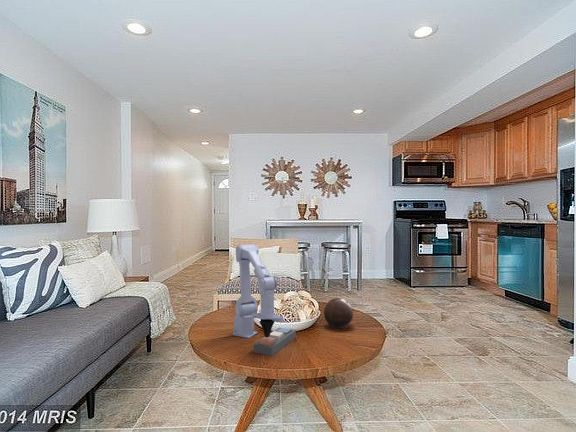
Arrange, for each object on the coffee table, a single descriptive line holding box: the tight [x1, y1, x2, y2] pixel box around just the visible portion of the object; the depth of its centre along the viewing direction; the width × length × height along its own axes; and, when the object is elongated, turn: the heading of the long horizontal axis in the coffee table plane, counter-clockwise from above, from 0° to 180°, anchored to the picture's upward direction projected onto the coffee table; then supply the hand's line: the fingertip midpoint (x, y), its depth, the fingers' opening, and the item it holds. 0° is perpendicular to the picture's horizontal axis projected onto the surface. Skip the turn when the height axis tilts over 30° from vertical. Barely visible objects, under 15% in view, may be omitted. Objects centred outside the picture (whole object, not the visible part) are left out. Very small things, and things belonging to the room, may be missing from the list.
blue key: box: [277, 327, 292, 334], centre depth 164 cm, size 5×5×2 cm
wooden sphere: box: [323, 297, 354, 329], centre depth 180 cm, size 15×15×15 cm
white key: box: [269, 330, 283, 340], centre depth 156 cm, size 5×5×2 cm
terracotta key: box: [258, 336, 275, 346], centre depth 149 cm, size 5×5×2 cm
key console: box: [253, 327, 297, 357], centre depth 156 cm, size 9×24×4 cm, turn 154°
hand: (267, 336), depth 149 cm, fingers closed
